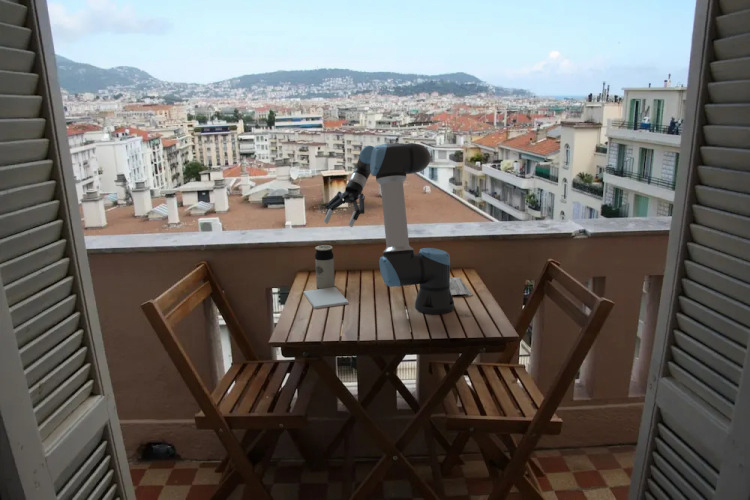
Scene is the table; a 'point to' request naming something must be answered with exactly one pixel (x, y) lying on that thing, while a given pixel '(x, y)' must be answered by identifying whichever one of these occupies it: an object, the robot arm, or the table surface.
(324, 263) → the travel mug
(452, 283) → the newspaper
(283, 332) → the table surface
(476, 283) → the table surface
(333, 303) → the placemat
